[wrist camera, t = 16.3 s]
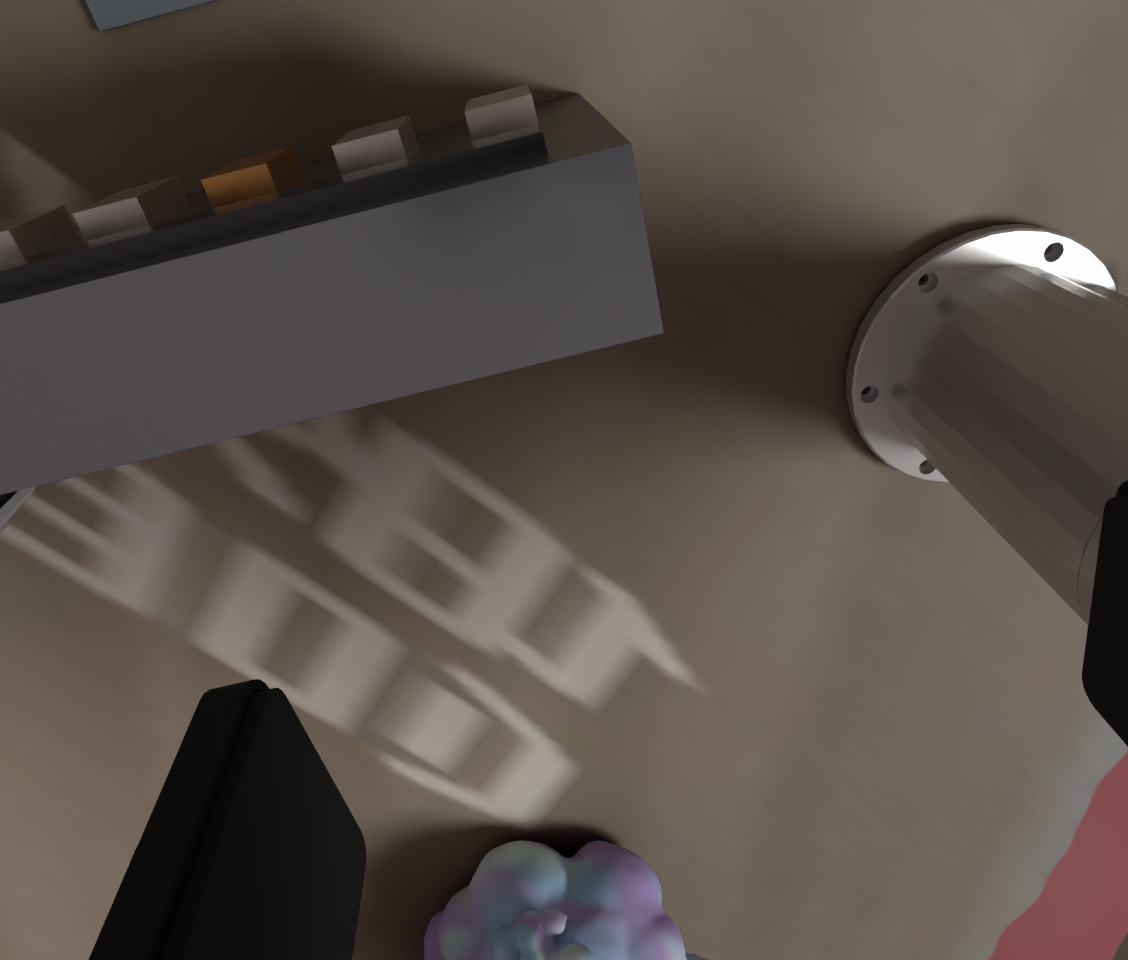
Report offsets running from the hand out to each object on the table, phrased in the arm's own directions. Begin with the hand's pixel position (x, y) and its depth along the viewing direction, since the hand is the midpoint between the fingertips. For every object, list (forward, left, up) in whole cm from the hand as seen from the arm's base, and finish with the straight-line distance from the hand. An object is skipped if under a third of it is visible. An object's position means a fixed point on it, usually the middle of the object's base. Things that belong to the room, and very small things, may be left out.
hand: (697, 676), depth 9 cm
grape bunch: (+12, +47, -29) cm, 56 cm away
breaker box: (+9, -1, -28) cm, 30 cm away
